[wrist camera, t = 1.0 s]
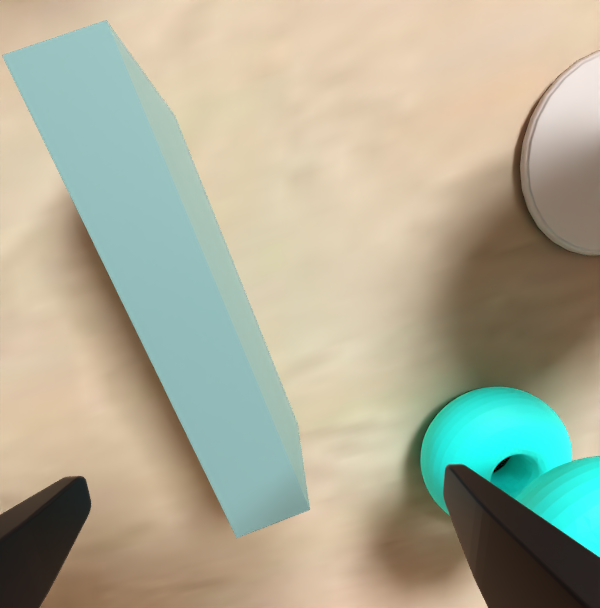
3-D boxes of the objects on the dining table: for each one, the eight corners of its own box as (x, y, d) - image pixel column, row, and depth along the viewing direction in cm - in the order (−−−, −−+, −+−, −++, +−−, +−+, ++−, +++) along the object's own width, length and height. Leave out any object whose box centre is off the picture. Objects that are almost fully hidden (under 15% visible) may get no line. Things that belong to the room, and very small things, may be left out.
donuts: (688, 709, 13) (493, 686, 12) (510, 513, 23) (393, 489, 22) (807, 519, 12) (601, 469, 10) (563, 397, 22) (442, 364, 20)
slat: (249, 440, 20) (236, 538, 13) (116, 138, 16) (2, 55, 9) (297, 422, 20) (309, 509, 13) (176, 117, 16) (106, 20, 10)
